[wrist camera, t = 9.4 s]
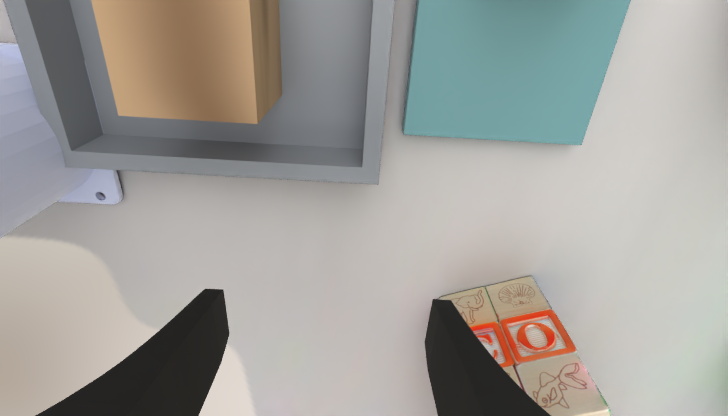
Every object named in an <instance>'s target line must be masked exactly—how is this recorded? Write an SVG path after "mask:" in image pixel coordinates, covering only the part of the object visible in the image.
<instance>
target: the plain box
mask: <svg viewBox="0 0 728 416" xmlns="http://www.w3.org/2000/svg"><path fill="white" fill-rule="evenodd" d="M91 2H92V6H93V10H94V14H95V19H96V23H97V27H98V31H99V35H100V40H101V44H102V48H103V52H104V57H105V61H106V65H107V69H108V74H109V78H110V82H111V86H112V90H113V95H114V99H115V103H116V107H117V112H118V116H132V117H149V118H166V119H182V120H199V121H216V122H232V123H249V124H258V123H259V122H260V121H261V119H262V118H263V117H264V116H265V115H266V113H267V112H268V111H269V110H270V109H271V108H272V106H273V105H274V104H275V103H276V102H277V100H278V99H279V98H280V97H281V96H282V72H281V44H280V16H279V0H91Z"/></svg>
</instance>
